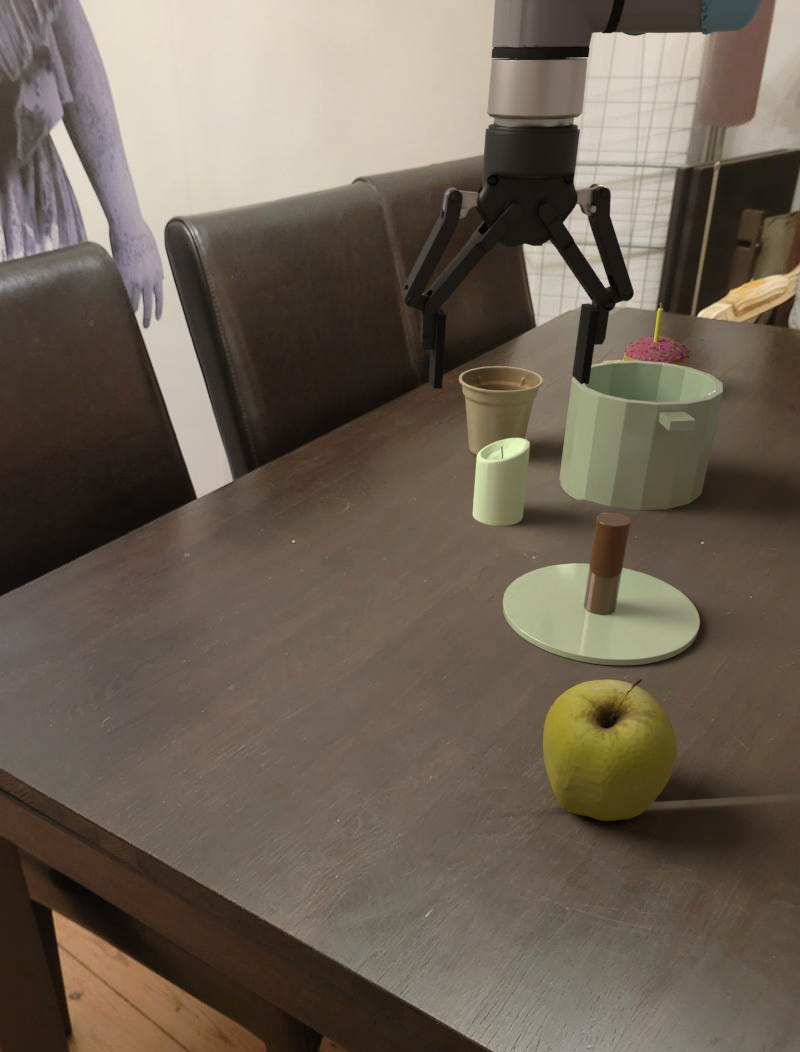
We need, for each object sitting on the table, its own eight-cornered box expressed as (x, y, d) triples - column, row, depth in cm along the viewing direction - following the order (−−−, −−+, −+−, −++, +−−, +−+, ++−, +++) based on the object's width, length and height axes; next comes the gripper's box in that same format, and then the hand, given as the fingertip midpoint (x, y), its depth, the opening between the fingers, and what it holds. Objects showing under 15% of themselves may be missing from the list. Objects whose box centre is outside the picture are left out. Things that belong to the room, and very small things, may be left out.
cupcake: (673, 403, 126) (690, 310, 120) (609, 394, 130) (623, 302, 123) (689, 386, 132) (707, 296, 126) (628, 377, 136) (642, 289, 130)
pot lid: (655, 570, 87) (674, 476, 82) (730, 667, 74) (757, 560, 69) (484, 578, 86) (492, 483, 81) (527, 677, 73) (540, 570, 68)
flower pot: (491, 471, 107) (498, 396, 103) (438, 447, 114) (442, 375, 109) (552, 453, 112) (561, 380, 107) (497, 431, 118) (503, 361, 114)
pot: (661, 450, 112) (679, 351, 106) (735, 522, 95) (761, 410, 89) (538, 455, 111) (549, 356, 105) (590, 529, 94) (607, 416, 88)
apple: (590, 725, 66) (644, 627, 59) (666, 817, 61) (735, 724, 54) (497, 761, 63) (542, 663, 55) (570, 861, 58) (629, 769, 51)
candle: (476, 531, 94) (482, 452, 90) (468, 510, 99) (473, 434, 94) (527, 530, 95) (535, 451, 90) (516, 509, 99) (524, 432, 94)
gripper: (666, 115, 81) (626, 366, 92) (374, 120, 80) (369, 374, 91) (703, 122, 75) (654, 390, 86) (385, 127, 73) (379, 399, 85)
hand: (508, 382), depth 88 cm, fingers open, 13 cm apart
